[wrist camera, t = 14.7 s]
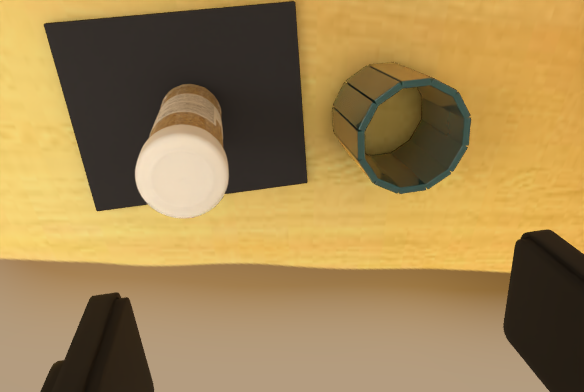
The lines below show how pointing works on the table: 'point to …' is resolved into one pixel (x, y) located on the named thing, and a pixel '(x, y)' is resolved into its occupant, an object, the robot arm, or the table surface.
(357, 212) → the table surface
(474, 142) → the table surface
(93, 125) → the felt mat
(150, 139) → the sprinkles bottle
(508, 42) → the table surface
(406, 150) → the pen cup
